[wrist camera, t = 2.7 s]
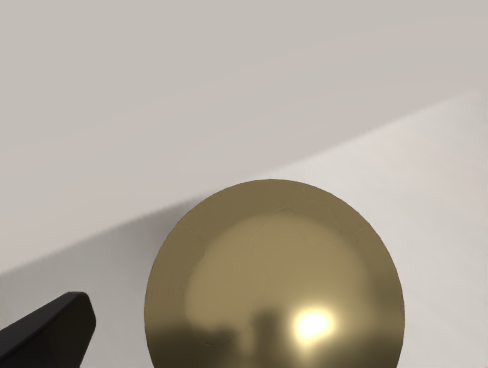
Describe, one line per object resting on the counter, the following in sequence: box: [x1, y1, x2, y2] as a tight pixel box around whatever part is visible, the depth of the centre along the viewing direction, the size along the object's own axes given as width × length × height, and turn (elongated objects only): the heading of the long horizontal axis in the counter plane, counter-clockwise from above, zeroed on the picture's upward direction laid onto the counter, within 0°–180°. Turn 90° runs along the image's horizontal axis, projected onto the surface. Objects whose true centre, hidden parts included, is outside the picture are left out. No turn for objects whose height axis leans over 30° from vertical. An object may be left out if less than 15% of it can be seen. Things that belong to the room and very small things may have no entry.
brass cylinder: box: [144, 179, 405, 368], centre depth 11 cm, size 4×4×10 cm
